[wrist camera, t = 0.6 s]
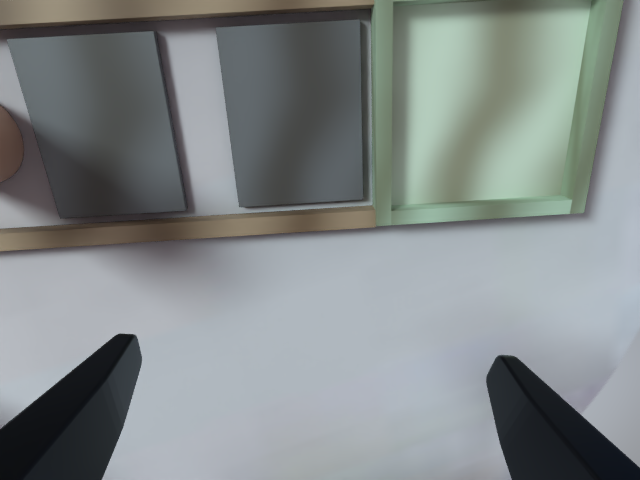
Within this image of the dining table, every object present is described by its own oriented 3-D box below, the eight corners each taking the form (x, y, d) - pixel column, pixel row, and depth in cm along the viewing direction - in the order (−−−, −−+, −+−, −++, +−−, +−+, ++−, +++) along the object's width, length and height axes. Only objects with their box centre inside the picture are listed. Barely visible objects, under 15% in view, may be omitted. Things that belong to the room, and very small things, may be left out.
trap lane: (-42, 248, 23) (-63, 257, 22) (-137, 12, 19) (-171, 6, 17) (567, 209, 23) (583, 216, 22) (608, -29, 19) (630, -37, 18)
